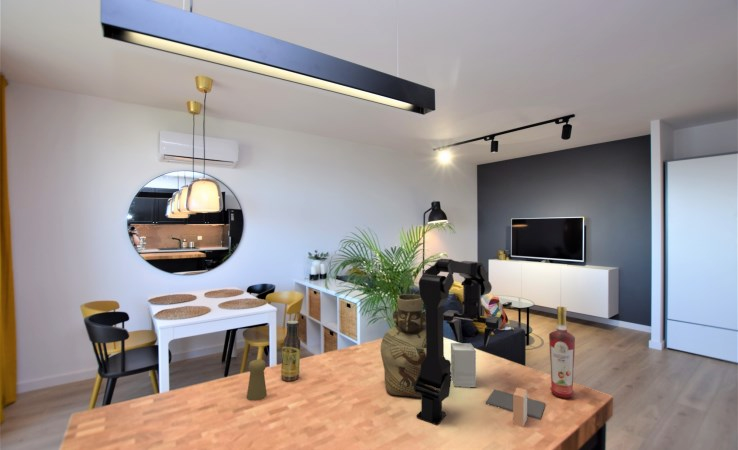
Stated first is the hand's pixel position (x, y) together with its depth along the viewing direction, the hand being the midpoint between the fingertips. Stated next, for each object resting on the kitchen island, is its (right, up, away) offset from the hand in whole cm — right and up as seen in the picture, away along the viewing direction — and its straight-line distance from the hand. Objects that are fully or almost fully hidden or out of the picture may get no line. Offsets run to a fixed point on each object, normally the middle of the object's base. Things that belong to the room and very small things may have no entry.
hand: (471, 344), depth 116 cm
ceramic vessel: (-21, -14, -1) cm, 26 cm away
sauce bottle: (-63, -14, +4) cm, 64 cm away
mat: (+10, -14, -13) cm, 21 cm away
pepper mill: (-70, -14, -9) cm, 72 cm away
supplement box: (-2, -14, +2) cm, 15 cm away
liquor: (+27, -14, -7) cm, 31 cm away
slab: (+7, -14, -22) cm, 27 cm away
